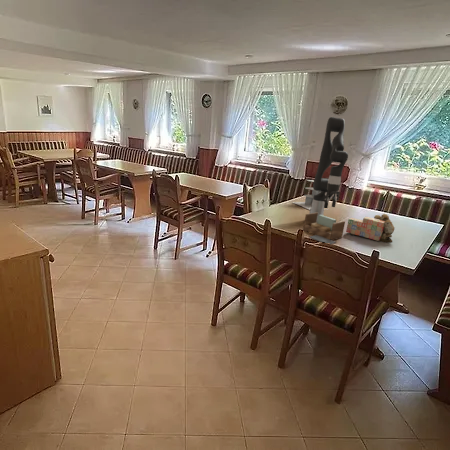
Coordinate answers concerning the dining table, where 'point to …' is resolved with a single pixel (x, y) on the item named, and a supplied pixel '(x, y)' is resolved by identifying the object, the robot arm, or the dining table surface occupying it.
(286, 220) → the dining table surface
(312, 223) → the offcut stack
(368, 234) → the stack of blocks
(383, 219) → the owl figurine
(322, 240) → the pad
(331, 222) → the panel
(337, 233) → the rack
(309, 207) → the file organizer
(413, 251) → the dining table surface
